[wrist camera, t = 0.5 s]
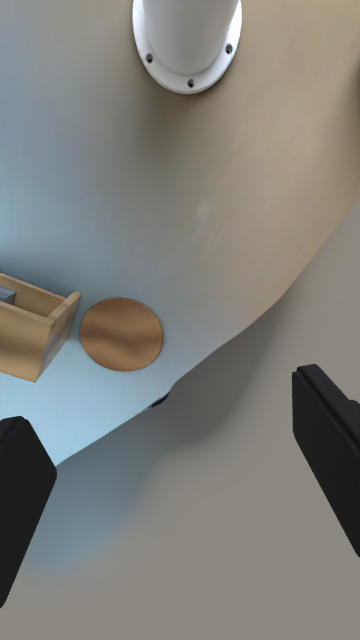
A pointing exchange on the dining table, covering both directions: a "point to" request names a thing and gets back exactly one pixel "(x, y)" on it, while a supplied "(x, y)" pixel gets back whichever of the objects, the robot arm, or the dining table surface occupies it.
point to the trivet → (121, 334)
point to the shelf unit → (31, 327)
